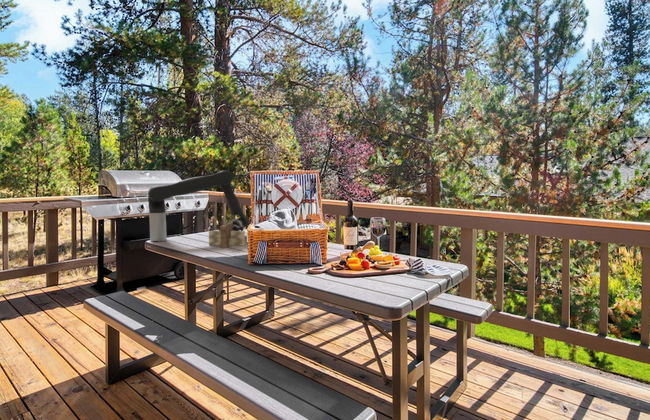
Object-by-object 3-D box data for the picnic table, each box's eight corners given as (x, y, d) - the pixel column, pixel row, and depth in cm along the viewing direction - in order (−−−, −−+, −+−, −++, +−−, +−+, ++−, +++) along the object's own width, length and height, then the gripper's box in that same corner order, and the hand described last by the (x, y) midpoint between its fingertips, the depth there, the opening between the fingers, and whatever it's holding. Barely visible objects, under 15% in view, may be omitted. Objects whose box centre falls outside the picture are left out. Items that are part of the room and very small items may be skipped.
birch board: (209, 245, 240) (208, 231, 240) (210, 244, 243) (210, 230, 242) (244, 245, 240) (243, 231, 239) (244, 244, 243) (244, 230, 242)
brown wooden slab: (228, 242, 251) (227, 222, 250) (233, 242, 251) (233, 222, 250) (220, 247, 233) (220, 226, 232) (226, 247, 233) (225, 226, 232)
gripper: (223, 220, 261) (216, 223, 245) (246, 220, 261) (240, 223, 245) (223, 232, 262) (216, 236, 246) (246, 232, 262) (241, 236, 246)
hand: (228, 230), depth 245 cm, fingers open, 8 cm apart
